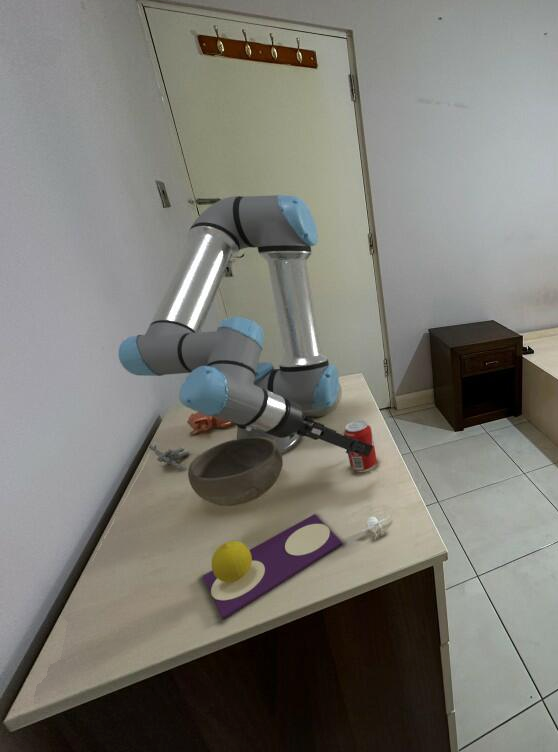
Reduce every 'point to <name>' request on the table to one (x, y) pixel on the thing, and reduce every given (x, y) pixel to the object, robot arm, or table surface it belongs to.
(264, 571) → the placemat
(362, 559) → the table surface
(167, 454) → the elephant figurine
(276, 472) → the bowl
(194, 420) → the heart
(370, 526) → the white bird figurine
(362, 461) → the beverage can
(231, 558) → the lemon
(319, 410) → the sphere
